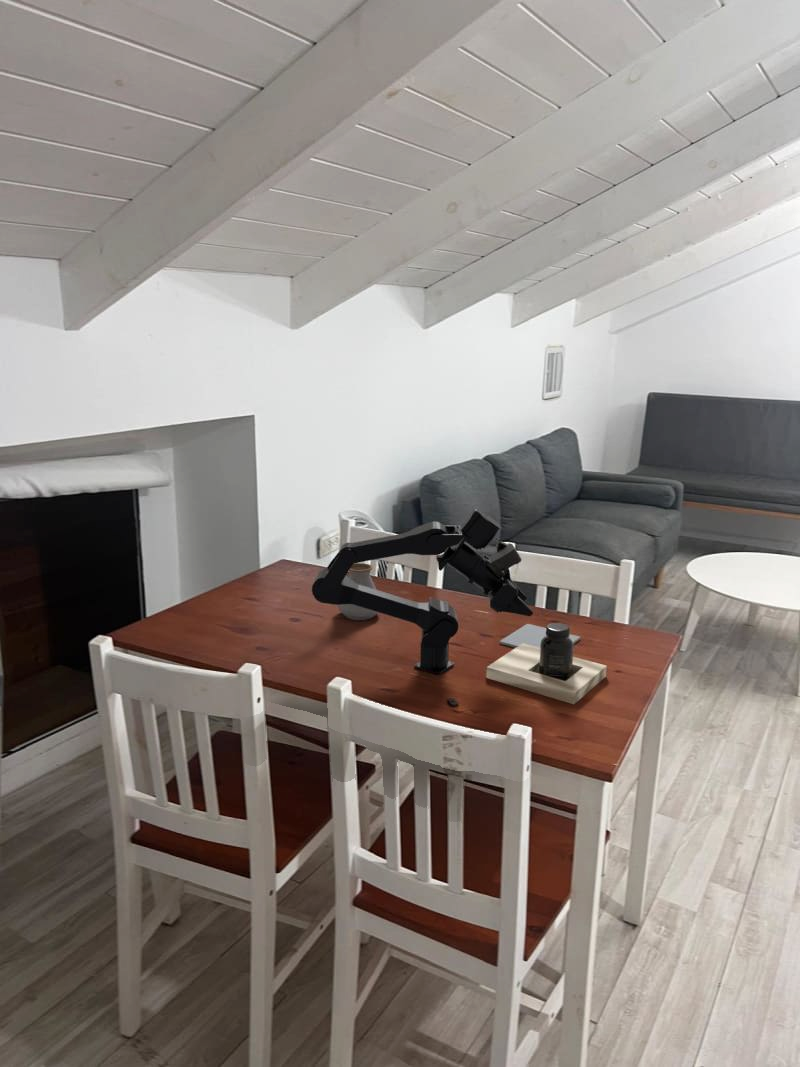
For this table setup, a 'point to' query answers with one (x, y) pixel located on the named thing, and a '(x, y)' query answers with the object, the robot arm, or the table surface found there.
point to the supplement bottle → (556, 652)
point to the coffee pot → (362, 577)
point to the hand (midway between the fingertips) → (528, 606)
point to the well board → (524, 670)
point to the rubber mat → (529, 636)
